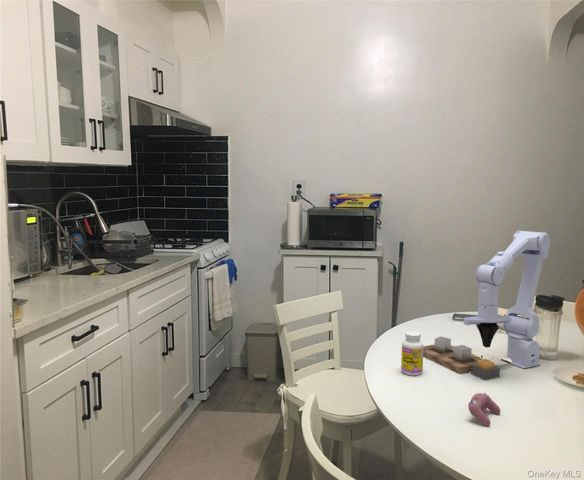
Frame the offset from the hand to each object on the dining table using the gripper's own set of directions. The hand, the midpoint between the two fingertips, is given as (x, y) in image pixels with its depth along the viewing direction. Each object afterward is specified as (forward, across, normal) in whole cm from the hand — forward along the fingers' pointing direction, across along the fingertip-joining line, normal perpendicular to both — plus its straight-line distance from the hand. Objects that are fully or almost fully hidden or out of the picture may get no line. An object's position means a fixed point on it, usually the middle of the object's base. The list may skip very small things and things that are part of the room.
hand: (486, 346), depth 158 cm
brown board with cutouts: (+9, +5, -14) cm, 18 cm away
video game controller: (+10, +14, +27) cm, 32 cm away
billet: (+9, +3, -10) cm, 14 cm away
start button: (+8, 0, 0) cm, 8 cm away
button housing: (+9, 0, 0) cm, 9 cm away
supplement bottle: (+10, +22, -6) cm, 24 cm away
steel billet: (+9, +6, -19) cm, 22 cm away
